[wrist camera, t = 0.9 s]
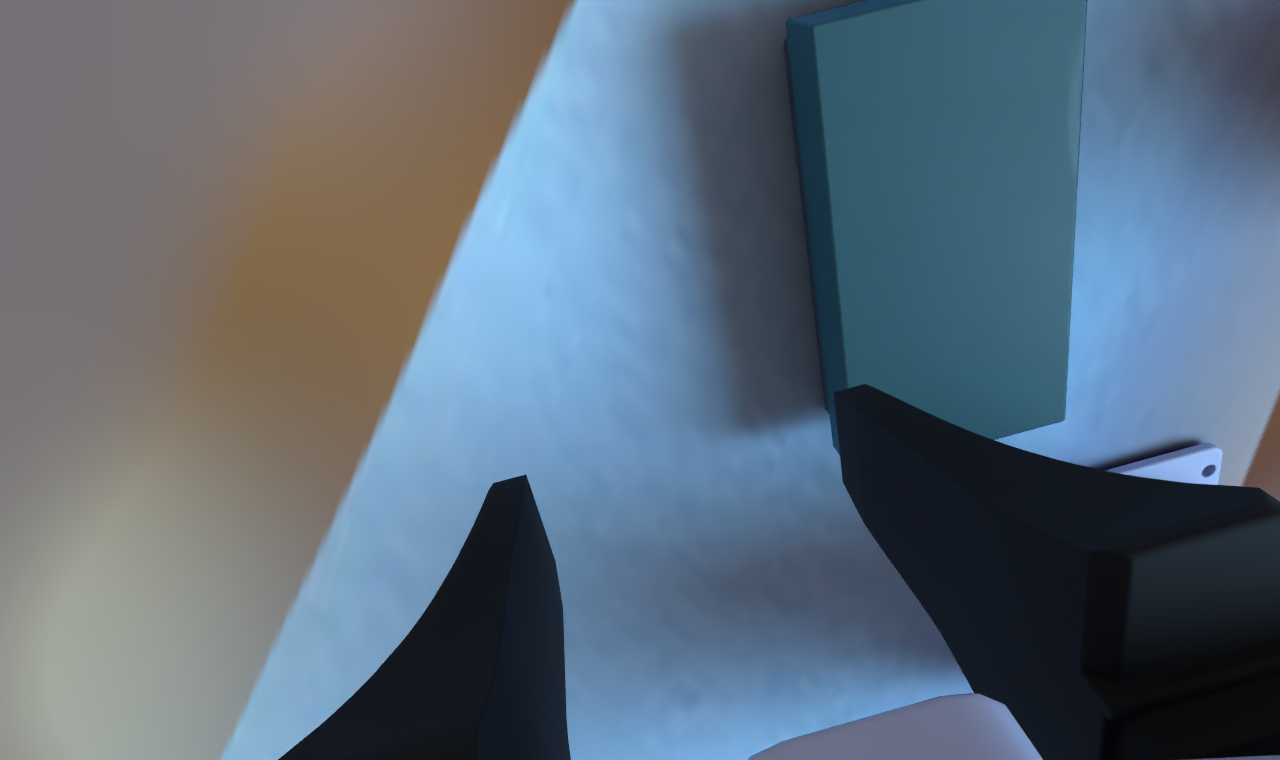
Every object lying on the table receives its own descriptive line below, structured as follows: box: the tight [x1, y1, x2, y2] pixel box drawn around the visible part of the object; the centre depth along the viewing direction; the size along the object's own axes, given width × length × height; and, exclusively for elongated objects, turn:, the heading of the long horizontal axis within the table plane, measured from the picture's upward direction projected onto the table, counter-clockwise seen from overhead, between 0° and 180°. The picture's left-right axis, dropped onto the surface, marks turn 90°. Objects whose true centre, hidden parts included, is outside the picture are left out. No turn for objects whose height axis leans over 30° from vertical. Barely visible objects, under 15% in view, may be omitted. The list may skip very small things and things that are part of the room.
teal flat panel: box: [784, 0, 1087, 455], centre depth 22 cm, size 12×6×3 cm, turn 12°
